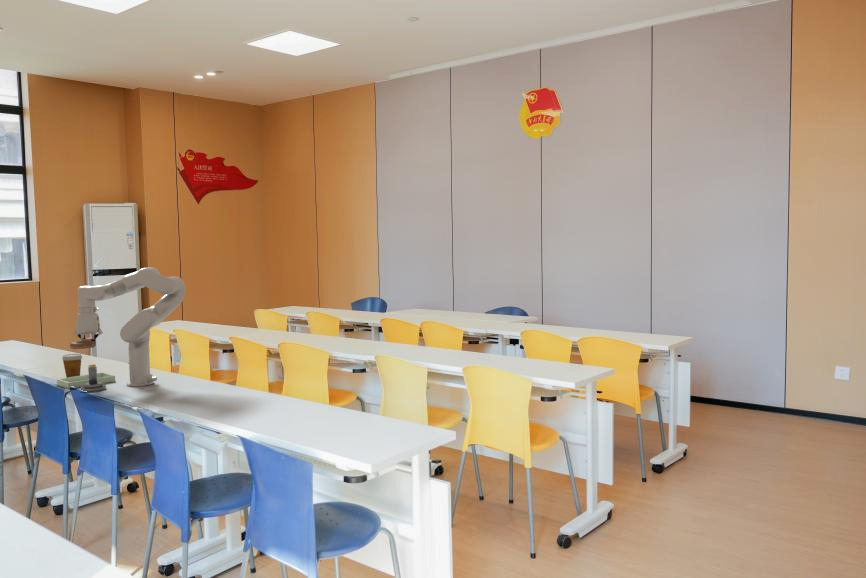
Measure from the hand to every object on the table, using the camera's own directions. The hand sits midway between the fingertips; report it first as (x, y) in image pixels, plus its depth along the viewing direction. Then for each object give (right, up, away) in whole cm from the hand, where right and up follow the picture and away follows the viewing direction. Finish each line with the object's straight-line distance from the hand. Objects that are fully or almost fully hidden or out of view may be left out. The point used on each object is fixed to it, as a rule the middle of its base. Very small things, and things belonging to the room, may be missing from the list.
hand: (89, 347), depth 344 cm
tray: (-4, -19, +6) cm, 20 cm away
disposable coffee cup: (-19, -18, +22) cm, 34 cm away
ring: (+1, +1, -5) cm, 5 cm away
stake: (+7, -20, -10) cm, 23 cm away
